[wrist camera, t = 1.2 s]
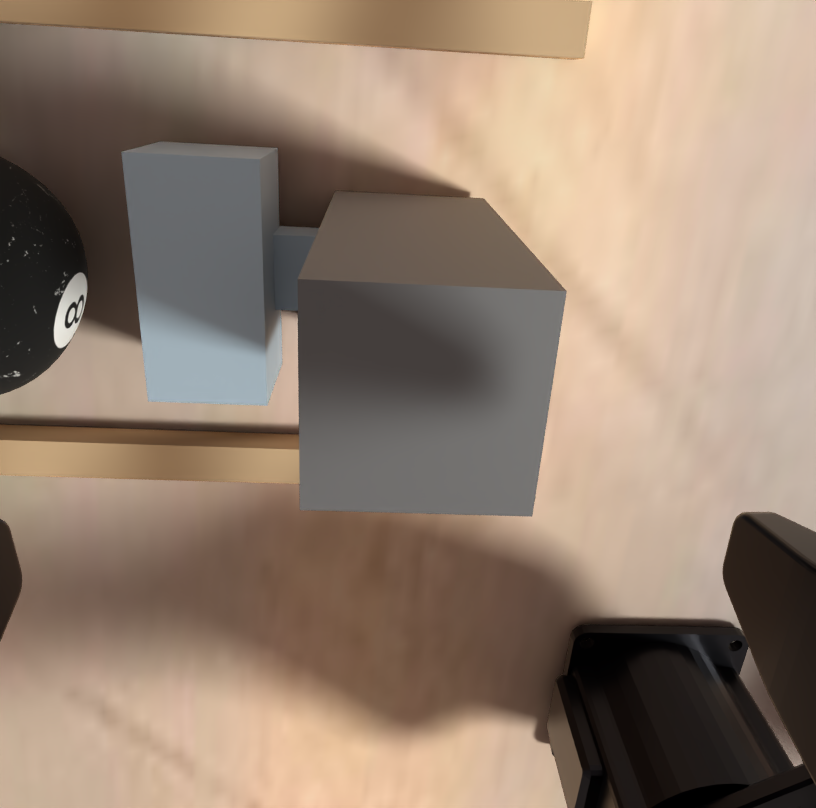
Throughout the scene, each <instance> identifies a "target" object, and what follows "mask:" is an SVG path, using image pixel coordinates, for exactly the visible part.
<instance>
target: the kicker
mask: <svg viewBox="0 0 816 808" xmlns="http://www.w3.org/2000/svg"><path fill="white" fill-rule="evenodd" d="M121 153H122V163H123V172H124V181H125V191H126V200H127V209H128V219H129V228H130V237H131V246H132V256H133V265H134V274H135V284H136V293H137V302H138V312H139V321H140V330H141V340H142V349H143V358H144V367H145V377H146V386H147V395H148V401H152V402H180V403H209V404H237V405H265V406H267V405H268V402H269V399H270V396H271V393H272V391H273V388H274V385H275V382H276V379H277V376H278V374H279V371H280V368H281V365H282V328H281V310H291V311H298V378H299V479H300V510H317V511H354V512H390V513H426V514H462V515H499V516H532V514H533V508H534V501H535V494H536V488H537V481H538V475H539V468H540V462H541V455H542V449H543V442H544V436H545V429H546V422H547V416H548V409H549V403H550V396H551V390H552V383H553V377H554V370H555V363H556V357H557V350H558V344H559V337H560V331H561V324H562V318H563V311H564V305H565V298H566V290H565V289H564V288H563V287H562V286H561V284H560V283H559V282H558V281H557V280H556V279H555V278H554V277H553V275H552V274H551V273H550V272H549V271H548V270H547V269H546V268H545V267H544V265H543V264H542V263H541V262H540V261H539V260H538V259H537V258H536V256H535V255H534V254H533V253H532V252H531V251H530V250H529V249H528V247H527V246H526V245H525V244H524V243H523V242H522V241H521V240H520V239H519V237H518V236H517V235H516V234H515V233H514V232H513V231H512V230H511V228H510V227H509V226H508V225H507V224H506V223H505V222H504V221H503V219H502V218H501V217H500V216H499V215H498V214H497V213H496V212H495V211H494V209H493V208H492V207H491V206H490V205H489V204H488V203H487V202H486V200H485V199H483V198H464V197H445V196H426V195H407V194H388V193H369V192H350V191H335V193H334V195H333V197H332V200H331V202H330V204H329V207H328V209H327V211H326V214H325V216H324V218H323V221H322V223H321V225H320V228H312V227H291V226H279V179H278V148H270V147H252V146H234V145H216V144H198V143H180V142H162V141H160V142H156V143H153V144H149V145H145V146H141V147H137V148H134V149H130V150H126V151H122V152H121Z"/></svg>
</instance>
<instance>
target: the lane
mask: <svg viewBox="0 0 816 808" xmlns="http://www.w3.org/2000/svg"><path fill="white" fill-rule="evenodd" d="M591 7H592V1H579V0H0V23H9V24H25V25H41V26H56V27H72V28H88V29H103V30H119V31H135V32H150V33H166V34H182V35H198V36H213V37H229V38H245V39H260V40H276V41H292V42H307V43H323V44H339V45H354V46H370V47H386V48H401V49H417V50H433V51H448V52H464V53H480V54H495V55H511V56H527V57H542V58H558V59H582V58H584V55H585V48H586V41H587V34H588V27H589V21H590V14H591ZM0 475H14V476H47V477H81V478H115V479H149V480H183V481H216V482H250V483H284V484H300V479H299V434H271V433H241V432H211V431H181V430H151V429H121V428H91V427H61V426H31V425H1V424H0Z"/></svg>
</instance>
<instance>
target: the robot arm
mask: <svg viewBox="0 0 816 808" xmlns="http://www.w3.org/2000/svg"><path fill="white" fill-rule="evenodd" d="M723 580H724V584H725V587H726V590H727V592H728V595H729V597H730V600H731V602H732V605H733V607H734V610H735V613H736V615H737V618H738V620H739V623H740V625H741V628H742V630H743V631H742V630H740V629H739V628H734V627H683V626H631V625H581V626H579V627H576V628H575V629H574V630H573V631H572V633H571V636H570V641H569V646H568V651H567V656H566V661H565V667H564V672H563V675H560V676H559V677H558V678H557V679H556V681H555V685H554V690H553V695H552V701H551V706H550V711H549V716H548V722H547V730H548V734H549V738H550V747H551V751H552V754H553V756H554V757H555V761H556V765H557V769H558V773H559V776H560V780H561V784H562V788H563V792H564V796H565V800H566V804H567V808H816V532H814V531H812V530H810V529H808V528H806V527H804V526H802V525H799V524H797V523H795V522H793V521H791V520H789V519H787V518H785V517H782V516H780V515H778V514H776V513H772V512H744V513H741V514H740V515H738V516H737V517H736V519H735V521H734V523H733V527H732V531H731V535H730V539H729V543H728V547H727V551H726V555H725V559H724V564H723ZM21 587H22V573H21V568H20V565H19V561H18V557H17V553H16V550H15V546H14V542H13V538H12V535H11V531H10V528H9V526H8V525H7V523H6V522H5V521H3V520H1V519H0V641H1V639H2V636H3V634H4V631H5V629H6V627H7V624H8V622H9V619H10V617H11V614H12V612H13V610H14V607H15V605H16V602H17V600H18V597H19V595H20V592H21ZM584 638H589V639H588V640H584V641H582V640H583V639H584ZM733 641H734V642H733ZM731 642H733V643H731ZM748 647H749V648H750V650H751V653H752V656H753V658H754V661H755V663H756V666H757V668H758V671H759V673H760V676H761V678H762V680H763V683H764V685H765V687H766V690H767V692H768V694H769V696H770V698H771V700H772V702H773V704H774V706H775V708H776V710H777V712H778V714H779V716H780V718H781V720H782V722H783V724H784V726H785V728H786V729H787V731H788V733H789V735H790V737H791V739H792V741H793V743H794V745H795V747H796V749H797V750H798V752H799V754H800V756H801V758H802V761H803V764H801V765H798V766H796V767H794V766H793V764H792V762H791V761H790V759H789V757H788V756H787V754H786V752H785V751H784V749H783V747H782V746H781V744H780V743H779V741H778V739H777V738H776V736H775V734H774V733H773V731H772V729H771V728H770V726H769V724H768V723H767V721H766V719H765V718H764V716H763V714H762V713H761V711H760V709H759V708H758V706H757V704H756V703H755V701H754V699H753V698H752V696H751V695H750V693H749V691H748V690H747V688H746V686H745V685H744V683H743V681H742V680H741V678H740V676H739V674H740V671H741V668H742V665H743V662H744V659H745V656H746V653H747V650H748Z"/></svg>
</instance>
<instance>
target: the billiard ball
mask: <svg viewBox="0 0 816 808" xmlns="http://www.w3.org/2000/svg"><path fill="white" fill-rule="evenodd" d="M87 288H88V271H87V262H86V256H85V251H84V247H83V244H82V240H81V238H80V235H79V233H78V230H77V228H76V226H75V224H74V222H73V220H72V219H71V217H70V215H69V214H68V212H67V211H66V209H65V208H64V207H63V205H62V204H61V202H60V201H59V200H58V199H57V198H56V197H55V196H54V195H53V194H52V193H51V192H50V191H49V190H48V189H47V188H46V187H45V186H44V185H43V184H42V183H40V182H39V181H38V180H37V179H35V178H34V177H33V176H32V175H30V174H29V173H27V172H26V171H24V170H23V169H21V168H20V167H18V166H16V165H14V164H13V163H11V162H9V161H7V160H5V159H3V158H1V157H0V395H1V394H4V393H7V392H10V391H12V390H14V389H17V388H19V387H21V386H23V385H25V384H27V383H29V382H30V381H32V380H34V379H35V378H37V377H38V376H39V375H41V374H42V373H43V372H44V371H46V370H47V369H48V368H49V367H50V366H51V365H52V364H53V363H54V362H55V361H56V360H57V359H58V358H59V357H60V355H61V354H62V353H63V351H64V350H65V349H66V347H67V346H68V344H69V343H70V341H71V339H72V338H73V336H74V334H75V332H76V329H77V327H78V325H79V323H80V320H81V317H82V314H83V311H84V307H85V302H86V297H87Z"/></svg>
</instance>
